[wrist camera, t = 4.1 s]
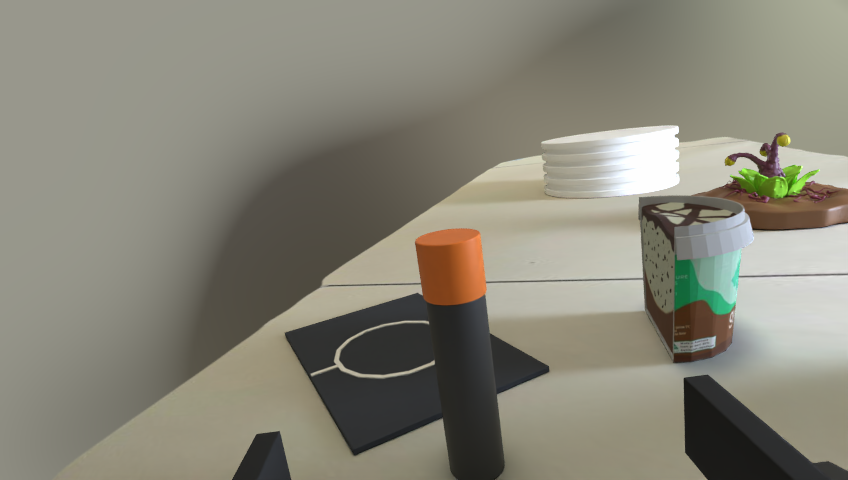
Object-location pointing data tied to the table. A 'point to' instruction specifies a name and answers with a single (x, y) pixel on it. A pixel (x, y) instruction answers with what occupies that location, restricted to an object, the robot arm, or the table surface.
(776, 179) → the plant
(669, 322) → the food container
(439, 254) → the marker
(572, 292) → the table surface
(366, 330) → the desk mat
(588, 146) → the plate stack
